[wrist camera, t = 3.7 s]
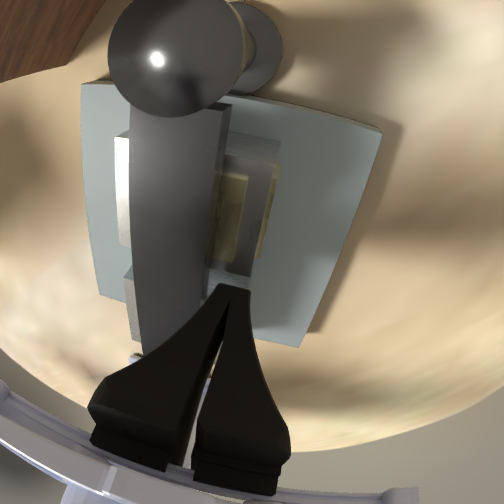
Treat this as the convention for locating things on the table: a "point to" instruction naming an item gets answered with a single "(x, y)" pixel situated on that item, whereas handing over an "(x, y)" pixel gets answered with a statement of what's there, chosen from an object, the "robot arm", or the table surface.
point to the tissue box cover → (41, 33)
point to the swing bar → (175, 147)
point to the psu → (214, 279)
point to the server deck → (285, 199)
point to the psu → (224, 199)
